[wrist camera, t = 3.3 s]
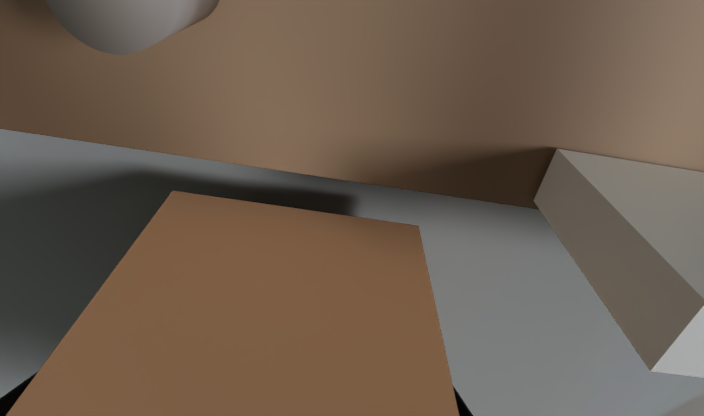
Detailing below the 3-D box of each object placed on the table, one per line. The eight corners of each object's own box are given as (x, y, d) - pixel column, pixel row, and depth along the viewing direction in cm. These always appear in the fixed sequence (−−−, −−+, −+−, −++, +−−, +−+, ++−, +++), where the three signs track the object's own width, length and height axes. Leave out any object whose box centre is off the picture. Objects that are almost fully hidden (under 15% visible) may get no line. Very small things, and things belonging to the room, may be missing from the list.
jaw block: (418, 225, 8) (486, 544, 4) (373, 378, 10) (384, 681, 6) (172, 190, 8) (-57, 498, 3) (183, 356, 10) (55, 662, 6)
